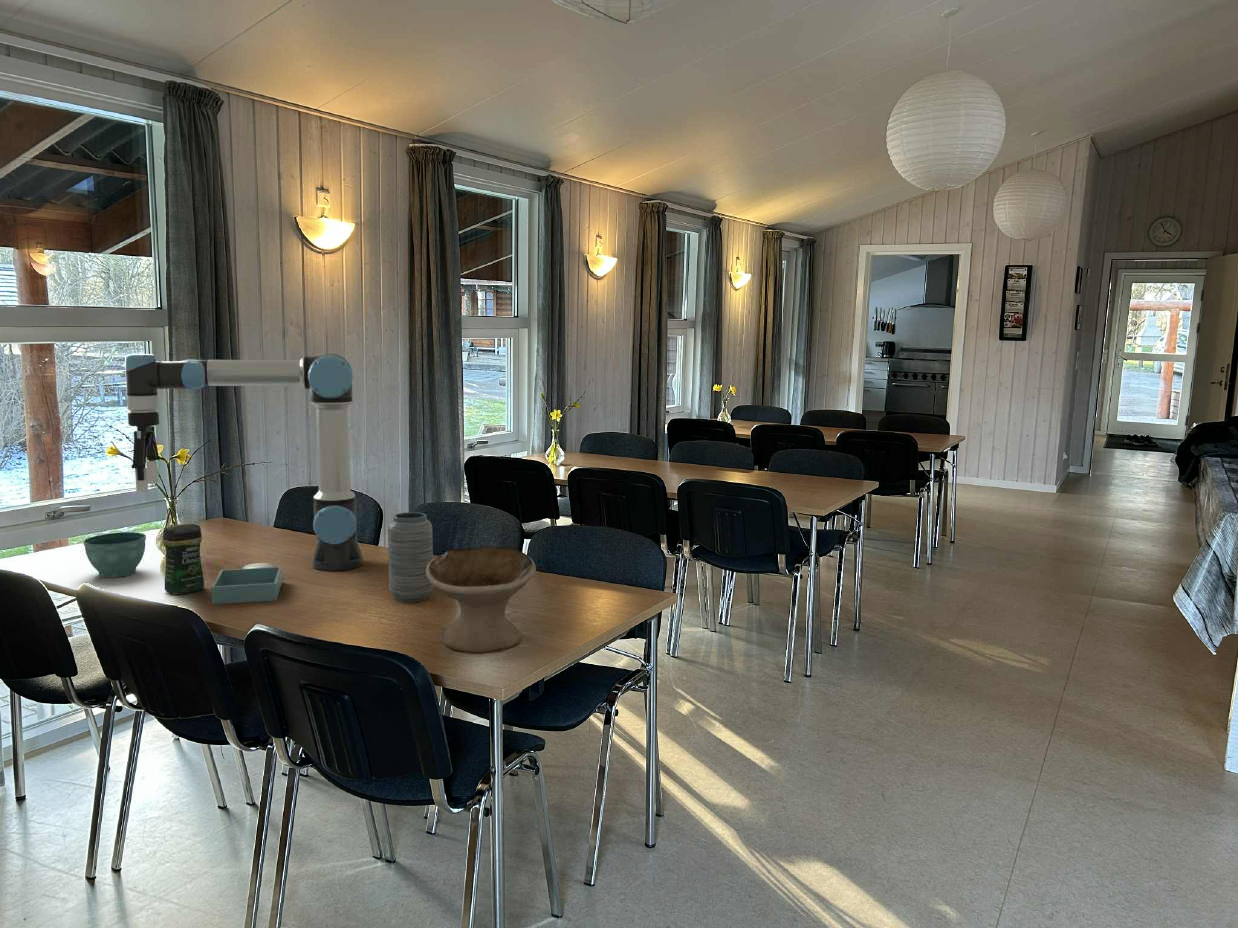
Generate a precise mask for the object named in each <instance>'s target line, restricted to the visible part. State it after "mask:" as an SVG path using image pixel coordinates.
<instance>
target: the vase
mask: <svg viewBox="0 0 1238 928" xmlns="http://www.w3.org/2000/svg"><path fill="white" fill-rule="evenodd" d="M427 517H428V516H427V514H425V513H424V512H416V511H415V512H414V511H410V512H400V513H395V514H394V515H393V516H392V518H393V519H392V521H390V522H389V524H388V527H387V538H388V540H387V541H388V544H387V545H388V585H389V589H388V590H389V593H390V594H391V596H392V597H394V598H395V601H397V602H400V603H406V604H407V603H408V604H410V603H411V604H412V603H420V602H422V601H426V600H427V599H428V598H429V596H430V595H431V594H432V592H433V589H434V587H433V586H432V585H431V584H430V582H429V580H428V578H427V576H426V568H427V565H428V563H429V562H430V561H432V560H433V559H434V554H433V553H434V552H433V551H434V549H433V547H434V546H433V545H434V544H433V542H434V541H433V525H432V522H431V521H430V520H429V519H427Z"/></svg>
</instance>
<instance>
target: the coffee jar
mask: <svg viewBox="0 0 1238 928" xmlns="http://www.w3.org/2000/svg"><path fill="white" fill-rule="evenodd" d="M202 541H203V536H202V529H201V526H200V525H199V524H195V523H192V522H191V523H185V524H183V523H182V524H178V525H173V526H172V525H171V526H166V527H164V528H163V532H162V543H163V546H164V547H165V575H164V590H165V592H166V593H168V594H169V595H174V594H175V595H185V594H189V593H193V592H197V591H201V590H203V589H204V587H205V581H204V580H205V579H204V573H203V568H202V567H203V565H202V559H201V550H200V549H201V544H202Z"/></svg>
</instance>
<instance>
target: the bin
mask: <svg viewBox="0 0 1238 928" xmlns="http://www.w3.org/2000/svg"><path fill="white" fill-rule="evenodd" d="M282 571H283V570H282V566H273V567H268V568H249V569H243V568H236V569H235V568H233V569H231V568H230V569H220V571H219V573H218V574H217V576H216V578H215V580H214V582H213V584H212V585H211V602H212V603H211V604H212V605H220V604H222V605H223V604H238V603H252V602H253V603H254V602H255V603H256V602H269V601H278V597H279V594H280V591H281V587H282V583H283V576H282Z"/></svg>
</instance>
